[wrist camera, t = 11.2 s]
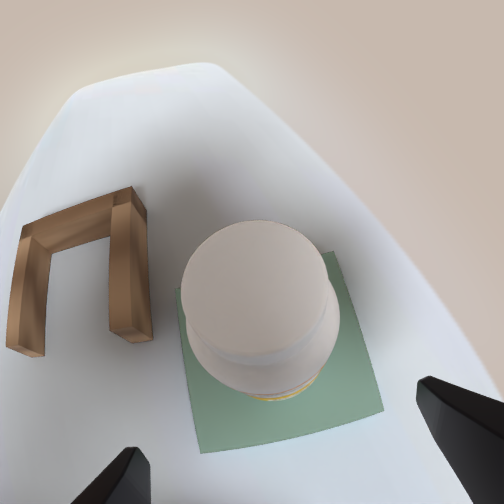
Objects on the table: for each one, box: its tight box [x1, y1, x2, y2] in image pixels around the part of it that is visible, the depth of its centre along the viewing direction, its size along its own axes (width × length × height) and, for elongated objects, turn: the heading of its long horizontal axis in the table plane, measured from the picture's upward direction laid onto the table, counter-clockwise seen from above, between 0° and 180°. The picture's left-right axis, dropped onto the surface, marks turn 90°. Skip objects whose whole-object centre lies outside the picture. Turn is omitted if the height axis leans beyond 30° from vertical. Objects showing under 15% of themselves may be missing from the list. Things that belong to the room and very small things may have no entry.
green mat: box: [175, 251, 384, 454], centre depth 17 cm, size 10×10×1 cm
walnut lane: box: [6, 186, 153, 357], centre depth 20 cm, size 10×11×3 cm
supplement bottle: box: [181, 220, 340, 401], centre depth 13 cm, size 5×5×10 cm
